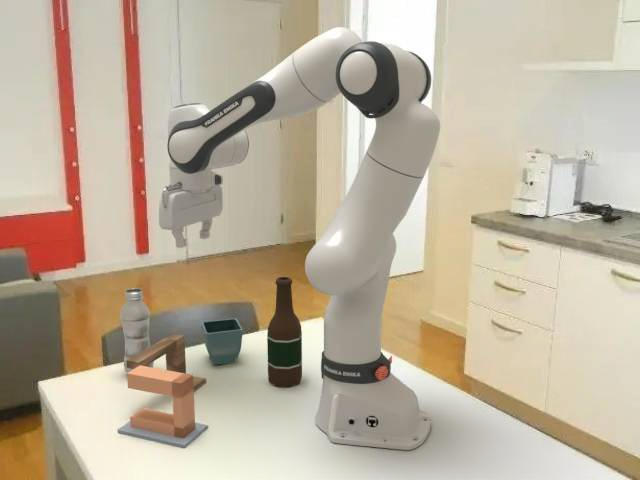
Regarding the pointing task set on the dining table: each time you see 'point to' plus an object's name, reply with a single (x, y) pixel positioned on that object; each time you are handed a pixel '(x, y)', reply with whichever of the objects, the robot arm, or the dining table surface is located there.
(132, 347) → the plastic bottle
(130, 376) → the c link
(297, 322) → the beer bottle
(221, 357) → the flower pot
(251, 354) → the dining table surface
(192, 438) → the felt mat
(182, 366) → the brown wooden angular piece
